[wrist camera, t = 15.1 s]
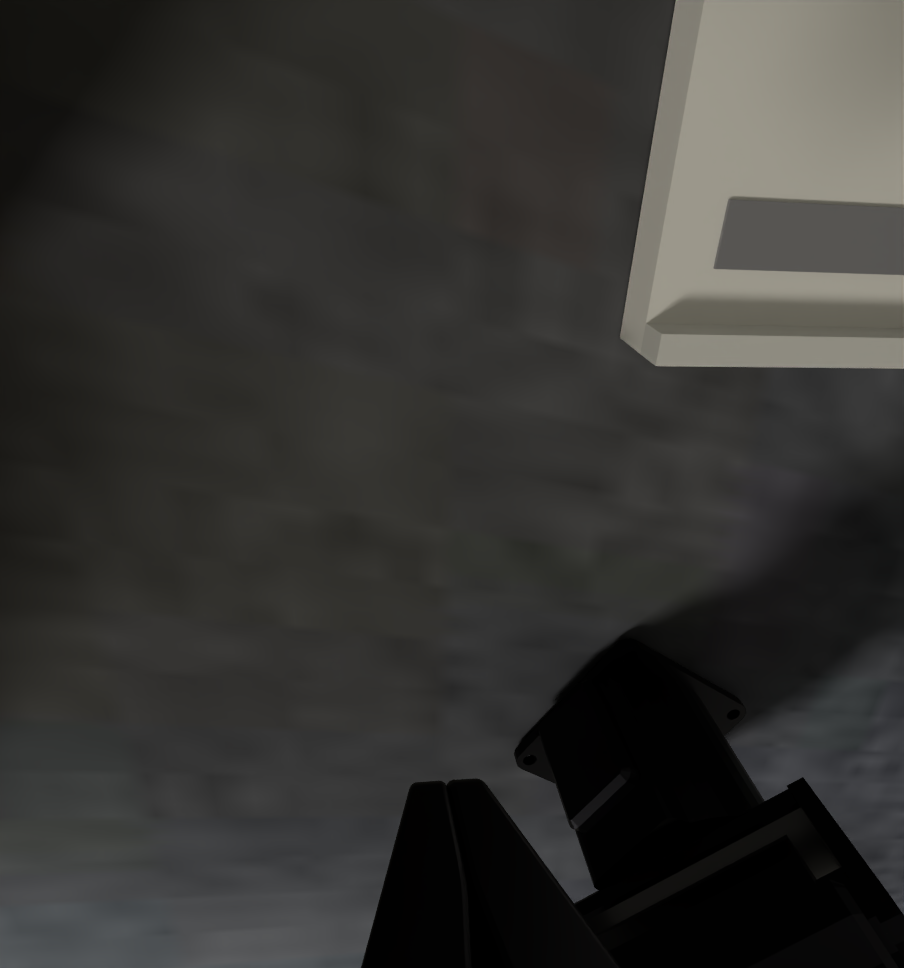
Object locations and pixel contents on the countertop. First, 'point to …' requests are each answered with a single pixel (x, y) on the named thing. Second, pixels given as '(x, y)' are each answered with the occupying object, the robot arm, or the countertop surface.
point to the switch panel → (775, 189)
